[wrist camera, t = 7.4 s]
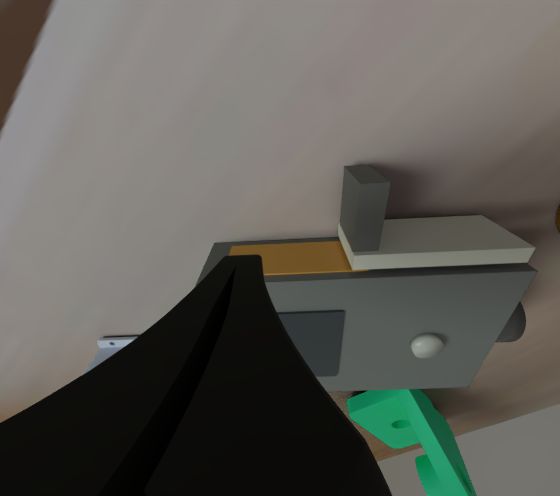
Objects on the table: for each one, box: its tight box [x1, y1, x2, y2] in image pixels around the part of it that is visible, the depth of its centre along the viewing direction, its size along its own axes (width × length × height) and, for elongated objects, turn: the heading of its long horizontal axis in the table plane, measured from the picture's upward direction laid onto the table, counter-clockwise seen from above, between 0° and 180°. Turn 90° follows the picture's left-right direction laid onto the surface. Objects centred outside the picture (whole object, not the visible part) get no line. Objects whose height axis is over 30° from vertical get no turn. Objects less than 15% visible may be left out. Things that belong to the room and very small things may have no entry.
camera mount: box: [347, 389, 477, 496], centre depth 27 cm, size 12×8×10 cm, turn 40°
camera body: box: [196, 237, 538, 391], centre depth 20 cm, size 22×12×6 cm, turn 93°
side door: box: [338, 165, 536, 270], centre depth 15 cm, size 10×5×4 cm, turn 93°
